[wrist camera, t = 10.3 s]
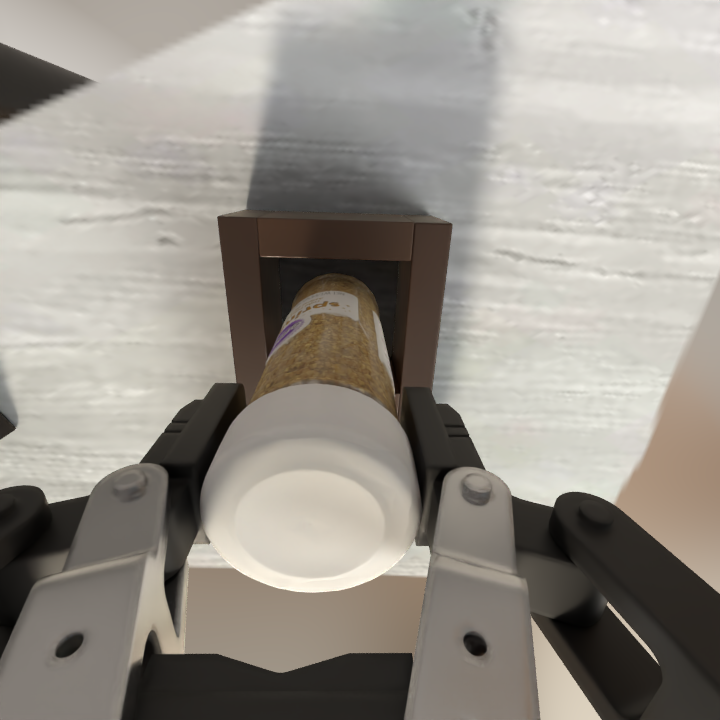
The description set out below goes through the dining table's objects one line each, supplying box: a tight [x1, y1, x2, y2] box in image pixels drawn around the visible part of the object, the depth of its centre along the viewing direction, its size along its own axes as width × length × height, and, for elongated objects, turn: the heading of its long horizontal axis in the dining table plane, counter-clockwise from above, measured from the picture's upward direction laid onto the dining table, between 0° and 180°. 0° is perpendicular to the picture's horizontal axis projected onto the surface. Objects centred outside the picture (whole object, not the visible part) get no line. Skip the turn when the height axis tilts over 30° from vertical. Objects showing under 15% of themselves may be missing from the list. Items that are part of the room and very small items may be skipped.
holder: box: [217, 210, 452, 423], centre depth 21 cm, size 10×18×4 cm, turn 178°
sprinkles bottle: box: [200, 273, 422, 592], centre depth 14 cm, size 5×5×13 cm
